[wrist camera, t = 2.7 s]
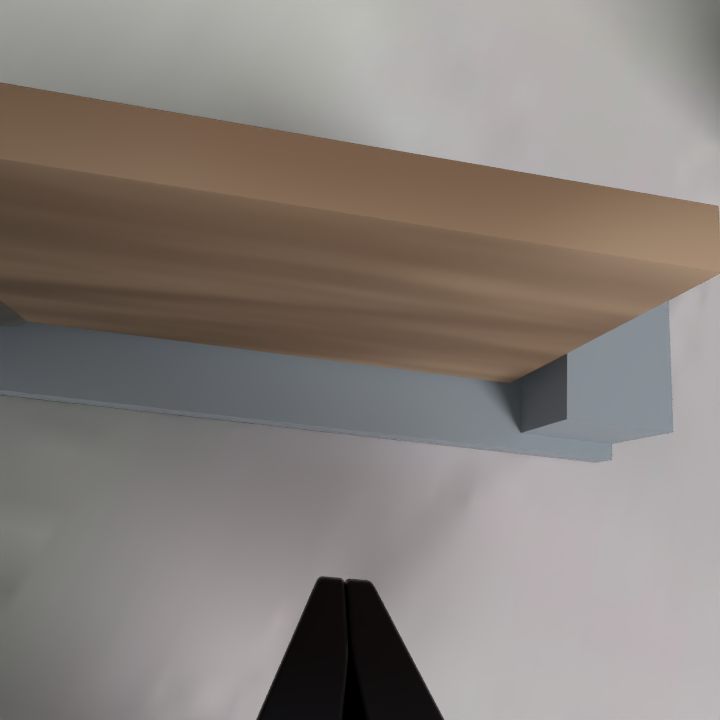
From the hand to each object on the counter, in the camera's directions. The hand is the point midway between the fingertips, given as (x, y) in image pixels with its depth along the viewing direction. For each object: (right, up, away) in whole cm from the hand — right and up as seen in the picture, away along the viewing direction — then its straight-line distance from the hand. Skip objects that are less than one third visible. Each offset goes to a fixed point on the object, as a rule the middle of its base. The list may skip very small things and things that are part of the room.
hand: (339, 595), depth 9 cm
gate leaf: (-3, +4, +8) cm, 10 cm away
